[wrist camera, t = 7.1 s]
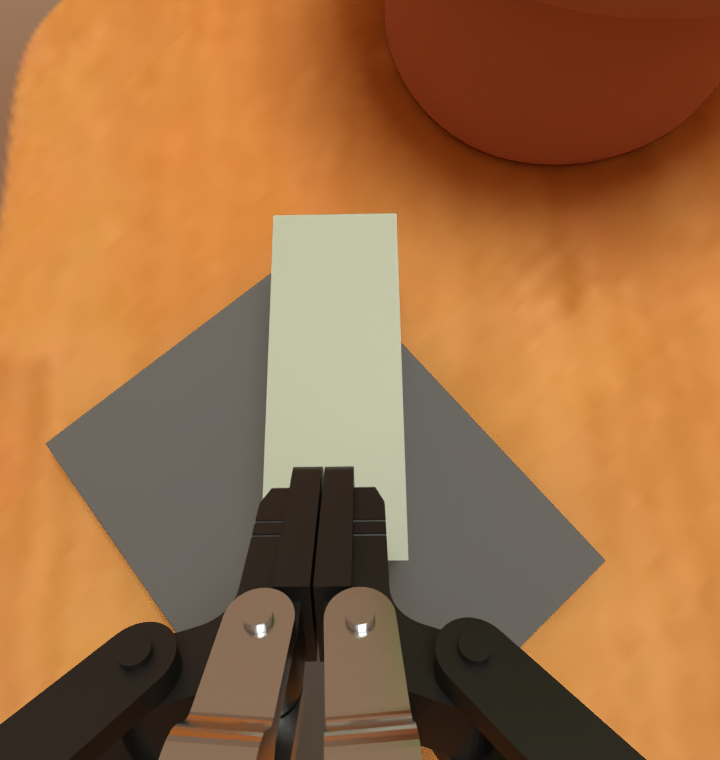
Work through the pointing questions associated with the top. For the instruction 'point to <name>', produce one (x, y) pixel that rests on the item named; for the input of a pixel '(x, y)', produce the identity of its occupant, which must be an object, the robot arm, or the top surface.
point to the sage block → (337, 357)
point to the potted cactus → (556, 71)
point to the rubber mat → (245, 492)
